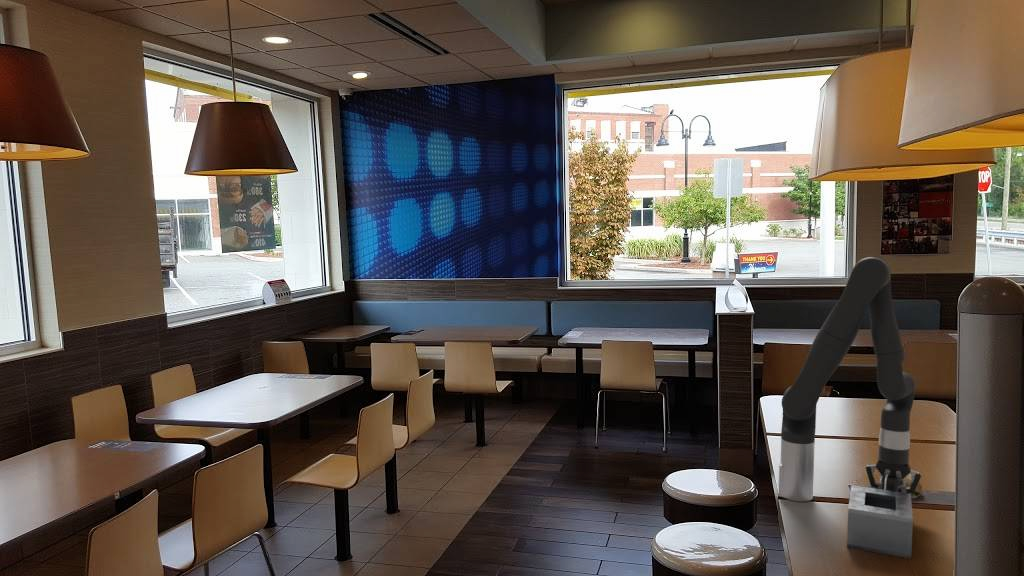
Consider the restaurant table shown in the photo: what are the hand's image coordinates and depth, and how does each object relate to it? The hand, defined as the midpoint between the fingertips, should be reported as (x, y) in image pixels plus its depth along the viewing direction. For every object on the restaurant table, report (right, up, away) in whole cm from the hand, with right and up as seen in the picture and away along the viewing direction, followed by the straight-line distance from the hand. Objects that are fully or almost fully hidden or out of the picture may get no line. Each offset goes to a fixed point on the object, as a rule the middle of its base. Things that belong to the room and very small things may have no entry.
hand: (891, 504), depth 195 cm
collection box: (-11, -4, -15) cm, 19 cm away
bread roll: (+12, -2, +17) cm, 21 cm away
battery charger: (0, -3, 0) cm, 3 cm away
